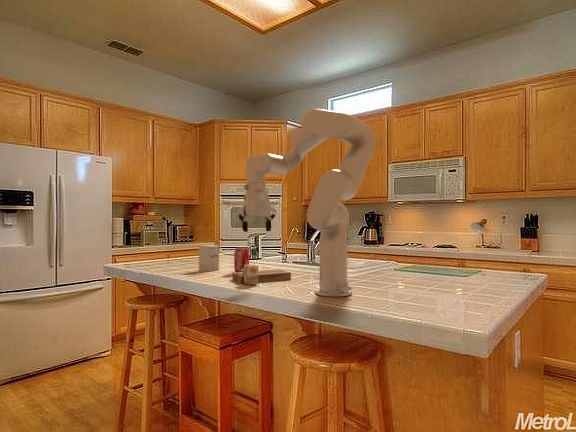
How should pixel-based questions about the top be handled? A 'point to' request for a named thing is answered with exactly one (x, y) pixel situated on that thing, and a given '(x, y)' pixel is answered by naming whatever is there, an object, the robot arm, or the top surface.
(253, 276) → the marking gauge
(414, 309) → the top surface
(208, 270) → the supplement box
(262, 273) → the walnut plank
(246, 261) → the soda can
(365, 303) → the top surface
